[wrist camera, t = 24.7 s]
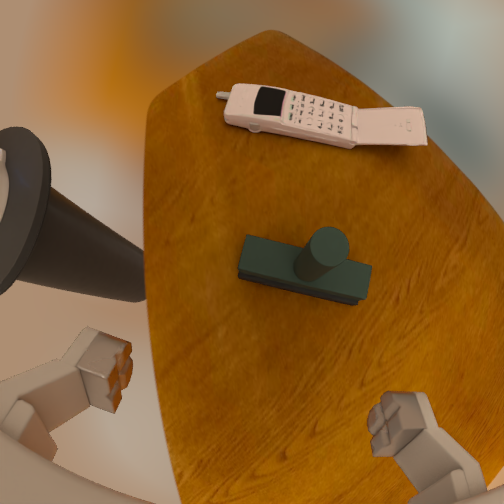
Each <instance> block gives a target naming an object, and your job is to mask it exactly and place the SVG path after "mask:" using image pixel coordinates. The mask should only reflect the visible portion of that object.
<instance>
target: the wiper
mask: <svg viewBox="0 0 504 504" xmlns="http://www.w3.org/2000/svg"><path fill="white" fill-rule="evenodd" d="M348 253H349V243H348V240H347V238H346V236H345V235H344V234H343V233H342V232H341V231H340V230H338V229H336V228H334V227H323V228H321V229H319V230H317V231H316V232H315V233H314V234H313V236H312V237H311V239H310V240H309V241H308V243H307V244H306V246H305V247H304V248H300V247H296V246H292V245H288V244H284V243H280V242H276V241H272V240H268V239H264V238H260V237H256V236H251V235H246V239H245V243H244V246H243V250H242V254H241V258H240V261H239V265H238V270H239V273H238V278H239V279H243V280H247V281H251V282H255V283H259V284H263V285H267V286H271V287H275V288H280V289H284V290H288V291H292V292H296V293H300V294H304V295H309V296H313V297H317V298H321V299H326V300H330V301H334V302H339V303H343V304H348V305H352V306H353V305H358V301H360V300H365V299H366V298H367V293H368V287H369V282H370V276H371V270H372V266H371V265H367V264H363V263H359V262H355V261H351V260H348V259H346V258H347V256H348Z"/></svg>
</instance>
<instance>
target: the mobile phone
mask: <svg viewBox="0 0 504 504" xmlns="http://www.w3.org/2000/svg"><path fill="white" fill-rule="evenodd" d="M216 97H217V98H221V99H227V100H228V102H227V105H226V108H225V111H224V119H225V121H226V122H227V123H228V124H231V125H235V126H240V127H244V128H248V129H249V131H251V132H257V133H258V132H260V131H265V132H270V133H276V134H281V135H286V136H291V137H296V138H301V139H306V140H311V141H316V142H320V143H325V144H330V145H334V146H339V147H343V148H347V149H352V148H353V147H354V146H355V145H408V146H418V145H427V132H426V123H425V119H424V115H423V112H422V109H421V108H416V107H409V106H408V107H393V108H370V109H358V107H356V106H350V105H347V104H343V103H340V102H336V101H332V100H329V99H325V98H321V97H318V96H314V95H309V94H305V93H300V92H295V91H290V90H288V89H283V88H277V87H271V86H264V85H254V84H235V85H234V86H233V87H232V90H231V92H217V94H216Z"/></svg>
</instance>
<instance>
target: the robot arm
mask: <svg viewBox="0 0 504 504" xmlns="http://www.w3.org/2000/svg"><path fill="white" fill-rule="evenodd" d="M5 162H6V151H5V150H3V149H1V148H0V222H1V219H2V217H3V214H4V211H5V207H6V204H7V199H8V192H9V177H8V173H7V170H6V166H5ZM131 352H132V346H131V343H130V342H128V341H125V340H123V339H120V338H117V337H114V336H112V335H109V334H106V333H103V332H101V331H98V330H95V329H93V328H90V327H86V328H84V329H83V330H82V331H81V333H80V334H79V335H78V337H77V338H76V339H75V341H74V342H73V343H72V345H71V346H70V347H69V349H68V350H67V352H66V353H65V355H64V356H63V357H62V359H61V360H58V359H55V360H52V361H50V362H48V363H45V364H42V365H40V366H38V367H35V368H33V369H30V370H28V371H26V372H23V373H21V374H18V375H16V376H13V377H11V378H8V379H6V380H3V381H1V382H0V504H154V503H151V502H148V501H144V500H141V499H138V498H135V497H132V496H129V495H126V494H123V493H121V492H118V491H115V490H113V489H110V488H107V487H105V486H102V485H100V484H98V483H95V482H93V481H90V480H88V479H86V478H84V477H82V476H79V475H77V474H75V473H73V472H71V471H69V470H67V469H65V468H63V467H61V466H59V465H57V464H55V463H53V462H52V460H53V458H54V456H55V454H56V452H57V449H58V448H57V445H56V443H55V442H54V440H53V439H52V437H51V436H50V434H49V432H51V431H52V430H54V429H55V428H57V427H58V426H60V425H62V424H63V423H65V422H67V421H68V420H70V419H71V418H73V417H74V416H76V415H77V414H79V413H81V412H82V411H84V410H85V409H87V408H88V407H90V405H92V406H95V407H97V408H100V409H102V410H105V411H108V412H111V413H114V414H115V412H116V410H117V408H118V405H119V403H120V401H121V399H122V395H121V390H123V389H125V388H126V387H127V386H128V384H129V382H130V378H131V375H132V369H133V360H132V359H131V358H130V354H131ZM380 399H381V402H380V403H378V404H376V405H374V406H373V408H372V409H371V410H370V412H369V415H368V418H367V426H368V431H369V432H370V433H371V434H372V435H373V437H372V439H371V441H370V443H371V448H372V453H373V457H390V456H394V457H393V458H394V459H395V461H396V462H397V464H398V465H399V466H400V468H401V469H402V470H403V472H404V473H405V474H406V476H407V477H408V479H409V480H410V481H411V483H412V484H413V485H414V487H415V488H416V489H417V491H418V492H419V494H417V495H416V496H414V497H412V498H411V499H410V500H409V501H408V504H504V484H503V485H501V486H498V487H496V488H494V489H491V490H489V491H487V488H486V484H485V481H484V478H483V474H482V471H481V468H480V465H479V463H478V462H477V461H476V460H475V459H474V458H473V457H472V456H471V455H470V454H469V453H468V452H467V451H466V450H464V449H463V448H462V447H461V446H460V445H459V444H458V443H457V442H456V441H455V440H454V439H453V438H452V437H451V436H450V435H449V434H448V433H447V432H446V431H445V430H443V429H442V428H438V425H437V422H436V419H435V417H434V414H433V411H432V408H431V406H430V403H429V400H428V398H427V395H426V394H425V393H424V392H404V391H387V392H385V393H384V394H383V395H382V396H381V397H380Z"/></svg>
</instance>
